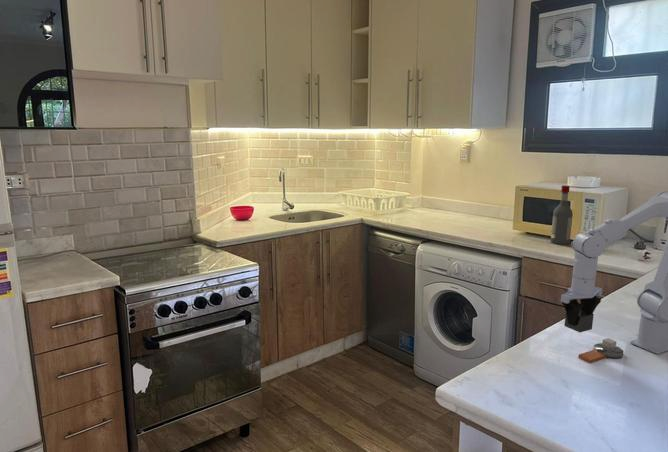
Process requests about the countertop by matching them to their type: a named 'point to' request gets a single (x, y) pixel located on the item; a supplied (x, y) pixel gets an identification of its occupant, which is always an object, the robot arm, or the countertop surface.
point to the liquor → (562, 220)
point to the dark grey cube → (581, 322)
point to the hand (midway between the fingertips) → (578, 322)
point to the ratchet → (602, 351)
